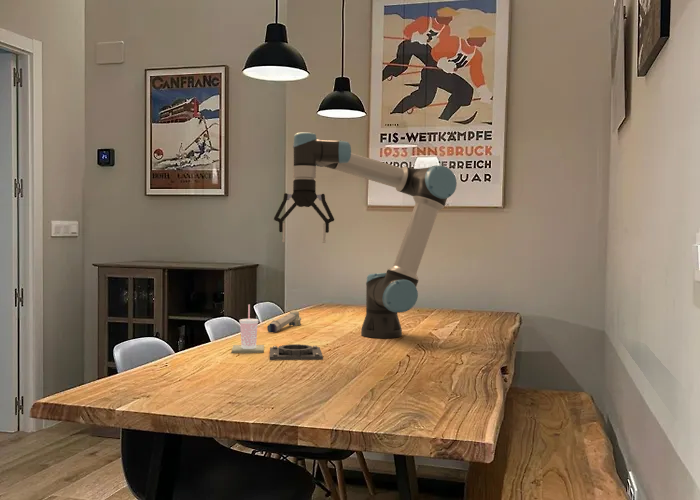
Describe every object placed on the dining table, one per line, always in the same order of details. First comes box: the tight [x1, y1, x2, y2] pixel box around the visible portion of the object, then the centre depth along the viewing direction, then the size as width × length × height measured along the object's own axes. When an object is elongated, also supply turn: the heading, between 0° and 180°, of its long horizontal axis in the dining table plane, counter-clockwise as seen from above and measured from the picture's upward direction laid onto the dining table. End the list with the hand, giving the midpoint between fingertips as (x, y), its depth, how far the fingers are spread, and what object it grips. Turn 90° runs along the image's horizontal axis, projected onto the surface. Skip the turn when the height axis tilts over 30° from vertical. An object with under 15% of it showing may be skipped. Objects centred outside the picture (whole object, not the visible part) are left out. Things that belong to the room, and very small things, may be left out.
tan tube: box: [266, 309, 302, 333], centre depth 273 cm, size 5×7×25 cm
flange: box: [269, 343, 324, 361], centre depth 217 cm, size 16×16×2 cm
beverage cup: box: [238, 304, 259, 349], centre depth 224 cm, size 6×6×14 cm
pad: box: [231, 344, 265, 354], centre depth 224 cm, size 10×10×1 cm
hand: (303, 242), depth 234 cm, fingers open, 13 cm apart
